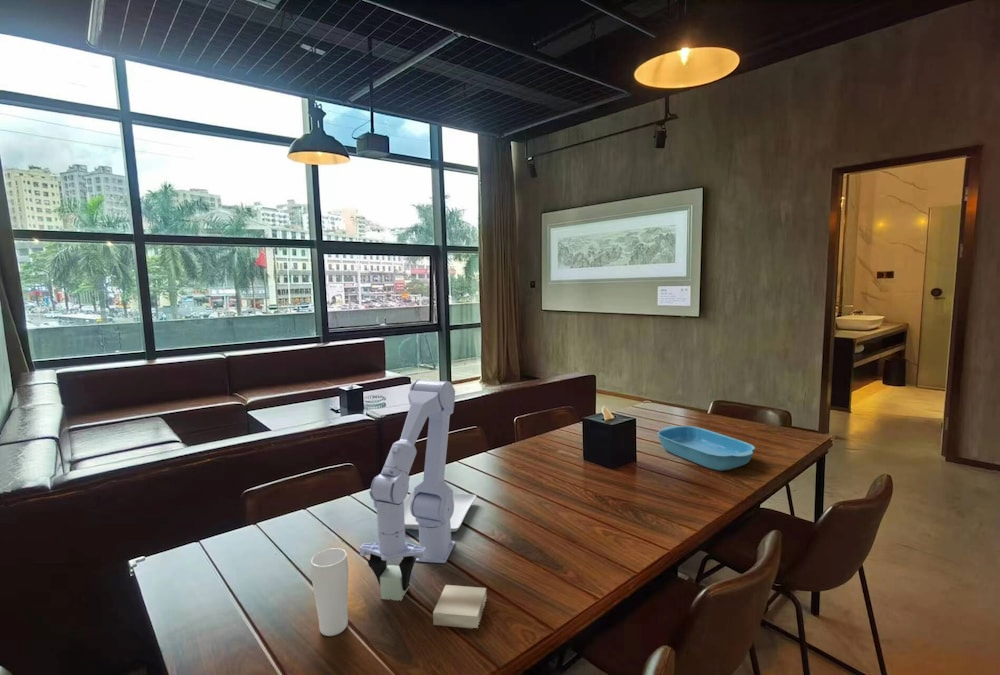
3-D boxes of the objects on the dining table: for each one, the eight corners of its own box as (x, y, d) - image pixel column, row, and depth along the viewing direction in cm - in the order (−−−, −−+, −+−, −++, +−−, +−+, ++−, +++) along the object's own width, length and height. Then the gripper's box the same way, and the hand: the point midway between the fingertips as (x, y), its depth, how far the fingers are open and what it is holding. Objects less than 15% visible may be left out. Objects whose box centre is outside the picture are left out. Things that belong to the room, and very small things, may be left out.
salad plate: (458, 539, 128) (458, 527, 127) (384, 533, 132) (384, 521, 132) (478, 504, 148) (477, 493, 148) (413, 499, 153) (413, 489, 152)
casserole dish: (768, 466, 171) (768, 447, 170) (725, 479, 161) (726, 459, 160) (685, 438, 204) (686, 422, 203) (646, 448, 194) (646, 430, 193)
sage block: (389, 585, 108) (388, 564, 108) (408, 587, 107) (407, 566, 107) (381, 598, 104) (379, 577, 103) (401, 600, 103) (400, 578, 102)
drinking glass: (355, 615, 99) (351, 546, 97) (346, 639, 92) (341, 566, 90) (322, 617, 98) (317, 548, 97) (310, 641, 92) (305, 567, 90)
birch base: (446, 597, 104) (445, 584, 104) (486, 601, 103) (486, 587, 102) (433, 626, 95) (432, 612, 95) (477, 630, 94) (477, 616, 94)
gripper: (351, 535, 101) (355, 595, 103) (417, 540, 99) (420, 601, 100) (366, 519, 108) (369, 576, 110) (427, 523, 106) (430, 580, 107)
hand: (394, 586), depth 105 cm, fingers closed on sage block, 5 cm apart
